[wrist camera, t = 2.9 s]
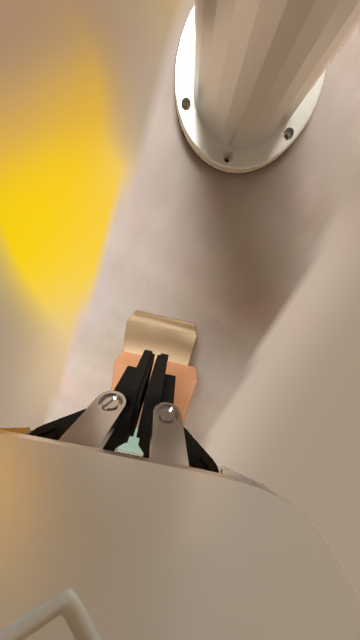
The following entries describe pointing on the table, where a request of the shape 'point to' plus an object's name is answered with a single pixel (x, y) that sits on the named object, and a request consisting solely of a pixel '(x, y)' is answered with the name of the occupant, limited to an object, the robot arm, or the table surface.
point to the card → (183, 373)
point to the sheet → (159, 337)
